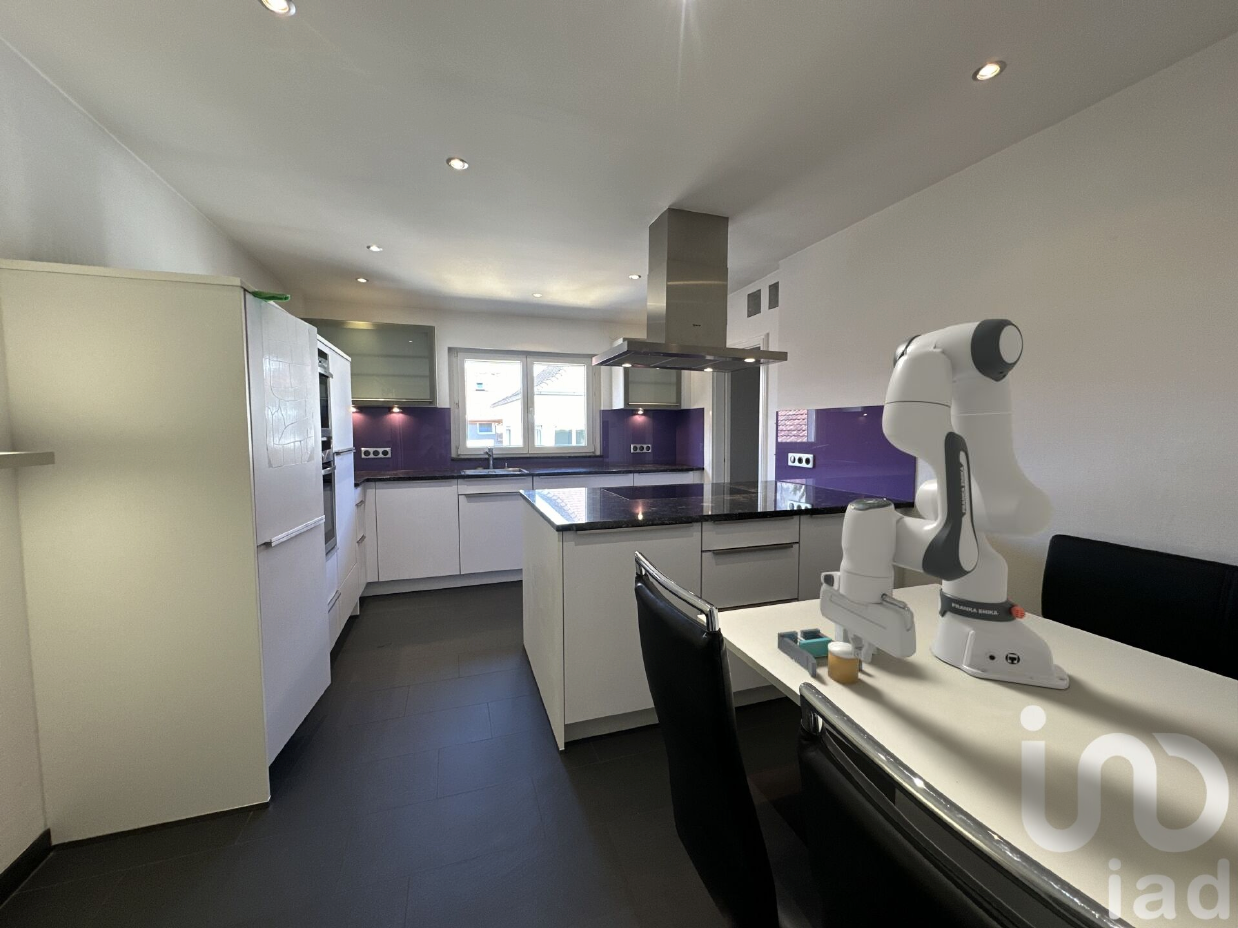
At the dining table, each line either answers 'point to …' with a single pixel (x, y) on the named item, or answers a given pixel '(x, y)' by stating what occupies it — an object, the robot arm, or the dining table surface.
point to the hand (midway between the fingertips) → (861, 658)
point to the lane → (791, 648)
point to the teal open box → (815, 646)
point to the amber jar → (842, 663)
